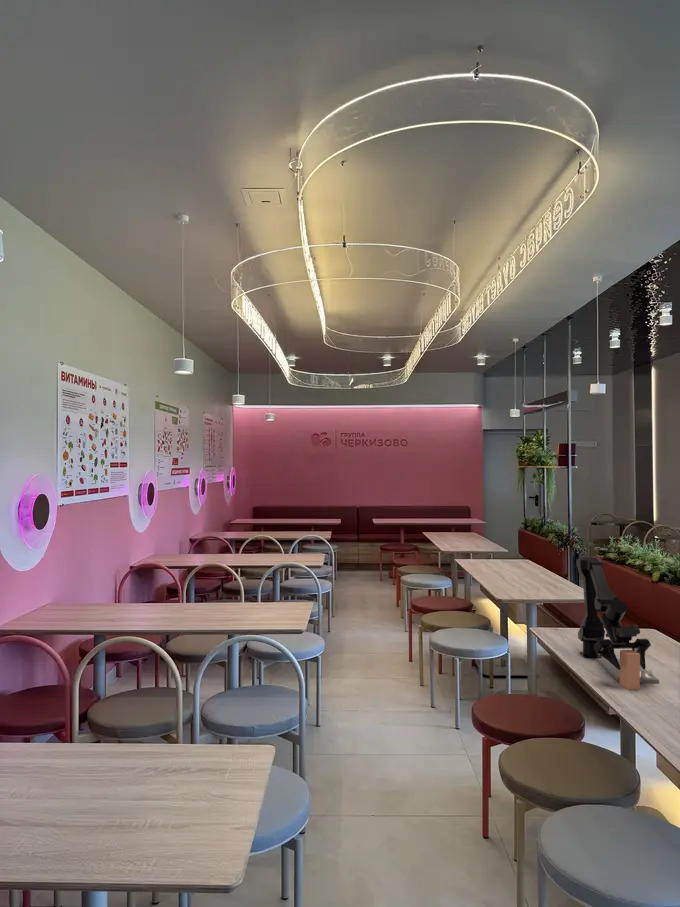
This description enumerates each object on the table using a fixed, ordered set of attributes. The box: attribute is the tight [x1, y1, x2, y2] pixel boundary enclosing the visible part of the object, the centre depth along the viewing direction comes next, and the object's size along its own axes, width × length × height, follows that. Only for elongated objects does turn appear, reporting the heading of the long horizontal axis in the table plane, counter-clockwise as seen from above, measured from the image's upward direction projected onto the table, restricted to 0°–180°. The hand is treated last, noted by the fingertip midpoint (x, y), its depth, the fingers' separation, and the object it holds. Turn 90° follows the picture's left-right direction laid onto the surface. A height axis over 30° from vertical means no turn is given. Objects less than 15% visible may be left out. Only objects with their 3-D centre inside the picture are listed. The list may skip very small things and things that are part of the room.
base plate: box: [595, 657, 660, 684], centre depth 224 cm, size 22×14×4 cm, turn 176°
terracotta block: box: [619, 649, 641, 691], centre depth 208 cm, size 4×4×12 cm
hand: (632, 669), depth 207 cm, fingers open, 9 cm apart
